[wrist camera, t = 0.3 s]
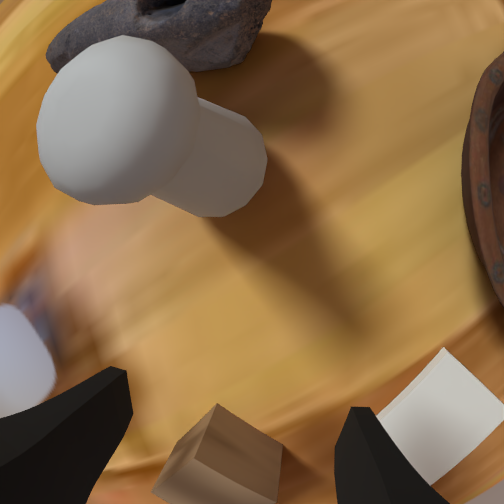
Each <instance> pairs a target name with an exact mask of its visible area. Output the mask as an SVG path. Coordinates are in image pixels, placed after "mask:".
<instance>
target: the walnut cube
mask: <svg viewBox="0 0 504 504" xmlns="http://www.w3.org/2000/svg"><path fill="white" fill-rule="evenodd" d="M282 448H283V444H281V443H279V442H278V441H276V440H274V439H272V438H271V437H269V436H267V435H266V434H264V433H262V432H261V431H259V430H257V429H256V428H254V427H253V426H251V425H249V424H248V423H246V422H245V421H243V420H242V419H240V418H239V417H237V416H235V415H234V414H232V413H231V412H229V411H228V410H226V409H225V408H223V407H222V406H220V405H219V404H218V403H217V404H216V405H215V406H214V407H213V408H212V409H211V410H210V411H209V412H208V413H207V414H206V415H205V416H204V417H203V418H202V419H201V420H200V421H199V422H198V423H197V424H196V425H195V426H194V427H192V428H191V429H190V430H189V431H188V432H187V433H186V434H185V435H184V436H183V437H182V438H181V439H180V440H179V441H178V442H177V443H176V445H175V447H174V449H173V451H172V453H171V454H170V456H169V458H168V460H167V462H166V464H165V466H164V468H163V470H162V472H161V474H160V475H159V477H158V479H157V481H156V483H155V485H154V487H153V489H152V491H151V493H153V494H155V495H156V496H158V497H160V498H161V499H163V500H165V501H166V502H168V503H170V504H275V503H277V497H278V488H279V479H280V469H281V459H282Z"/></svg>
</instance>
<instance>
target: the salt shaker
mask: <svg viewBox="0 0 504 504" xmlns="http://www.w3.org/2000/svg"><path fill="white" fill-rule="evenodd" d="M36 127H37V139H38V149H39V156H40V162H41V164H42V165H43V167H44V169H45V171H46V173H47V175H48V177H49V178H50V180H51V182H52V184H53V185H54V187H55V188H56V189H58V190H60V191H62V192H64V193H66V194H67V195H69V196H71V197H73V198H75V199H77V200H78V201H81V202H85V203H88V204H92V205H107V204H127V203H134V202H139V201H141V200H142V199H144V198H145V197H147V196H149V195H153V196H155V197H157V198H159V199H161V200H163V201H166V202H168V203H170V204H172V205H174V206H176V207H179V208H181V209H183V210H185V211H187V212H189V213H191V214H193V215H196V216H198V217H224V216H226V215H228V214H230V213H232V212H234V211H236V210H238V209H240V208H241V207H243V206H245V205H247V203H248V202H249V201H250V200H251V198H252V197H253V196H254V195H255V193H256V192H257V191H258V190H259V189H260V187H261V186H262V185H263V180H264V175H265V170H266V165H267V160H268V159H267V154H266V150H265V145H264V141H263V137H262V134H261V133H260V132H259V131H258V130H257V129H256V128H255V127H254V126H253V124H252V123H251V122H250V121H249V120H248V119H247V118H246V117H245V116H242V115H240V114H238V113H235V112H233V111H230V110H228V109H225V108H223V107H220V106H218V105H216V104H213V103H211V102H209V101H206V100H204V99H201V98H199V97H197V92H196V87H195V82H194V79H193V78H192V76H191V75H190V73H189V72H188V70H187V69H186V68H185V67H184V66H183V65H182V64H181V63H180V62H179V61H178V60H177V59H176V58H175V57H174V56H173V55H172V54H171V53H170V52H169V51H168V50H166V49H165V48H164V47H162V46H160V45H158V44H157V43H155V42H153V41H150V40H145V39H141V38H136V37H130V36H125V35H121V36H118V37H114V38H111V39H108V40H105V41H102V42H99V43H96V44H93V45H91V46H89V47H88V48H87V49H85V50H84V51H82V52H81V53H80V54H79V55H77V56H76V57H75V58H74V59H72V60H71V61H70V62H69V63H68V64H66V65H65V66H64V67H63V68H62V69H61V70H60V71H59V73H58V74H57V76H56V77H55V79H54V81H53V82H52V84H51V85H50V87H49V89H48V90H47V92H46V94H45V95H44V99H43V102H42V106H41V109H40V113H39V117H38V121H37V125H36Z"/></svg>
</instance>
